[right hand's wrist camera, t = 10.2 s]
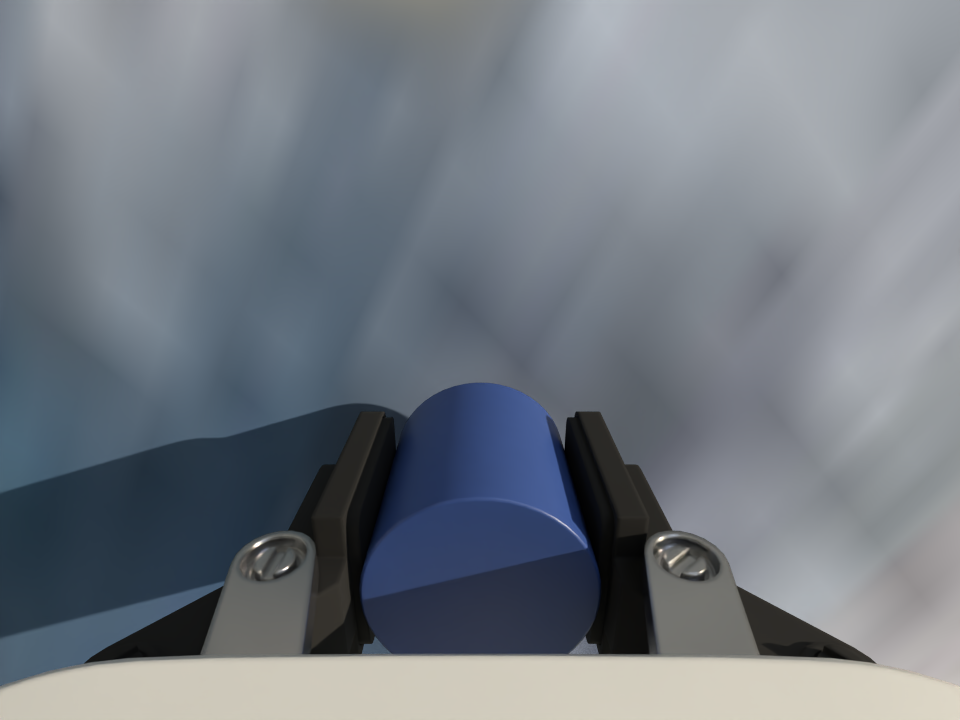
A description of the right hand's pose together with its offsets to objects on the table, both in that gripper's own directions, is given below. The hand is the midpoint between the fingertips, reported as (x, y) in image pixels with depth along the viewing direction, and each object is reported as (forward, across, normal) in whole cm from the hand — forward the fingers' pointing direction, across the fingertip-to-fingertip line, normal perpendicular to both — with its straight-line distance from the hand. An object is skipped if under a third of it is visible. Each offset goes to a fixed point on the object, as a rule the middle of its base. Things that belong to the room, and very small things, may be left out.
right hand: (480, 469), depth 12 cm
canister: (0, 0, 0) cm, 0 cm away
